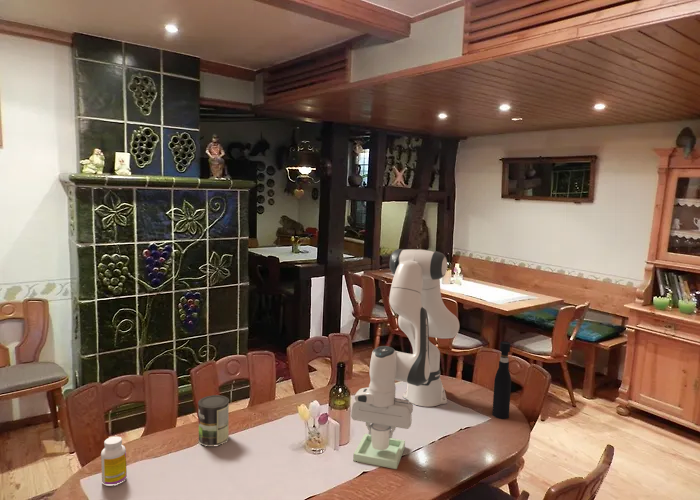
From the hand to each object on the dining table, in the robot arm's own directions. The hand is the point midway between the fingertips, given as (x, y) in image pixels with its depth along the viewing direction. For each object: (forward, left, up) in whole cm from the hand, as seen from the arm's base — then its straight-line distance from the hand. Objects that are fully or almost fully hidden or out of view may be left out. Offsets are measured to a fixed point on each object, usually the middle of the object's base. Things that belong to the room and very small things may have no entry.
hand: (380, 435), depth 163 cm
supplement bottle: (+41, -71, -7) cm, 82 cm away
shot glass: (0, 0, -4) cm, 4 cm away
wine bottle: (-45, +39, -7) cm, 60 cm away
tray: (0, 0, -6) cm, 6 cm away
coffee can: (+10, -57, -7) cm, 58 cm away
